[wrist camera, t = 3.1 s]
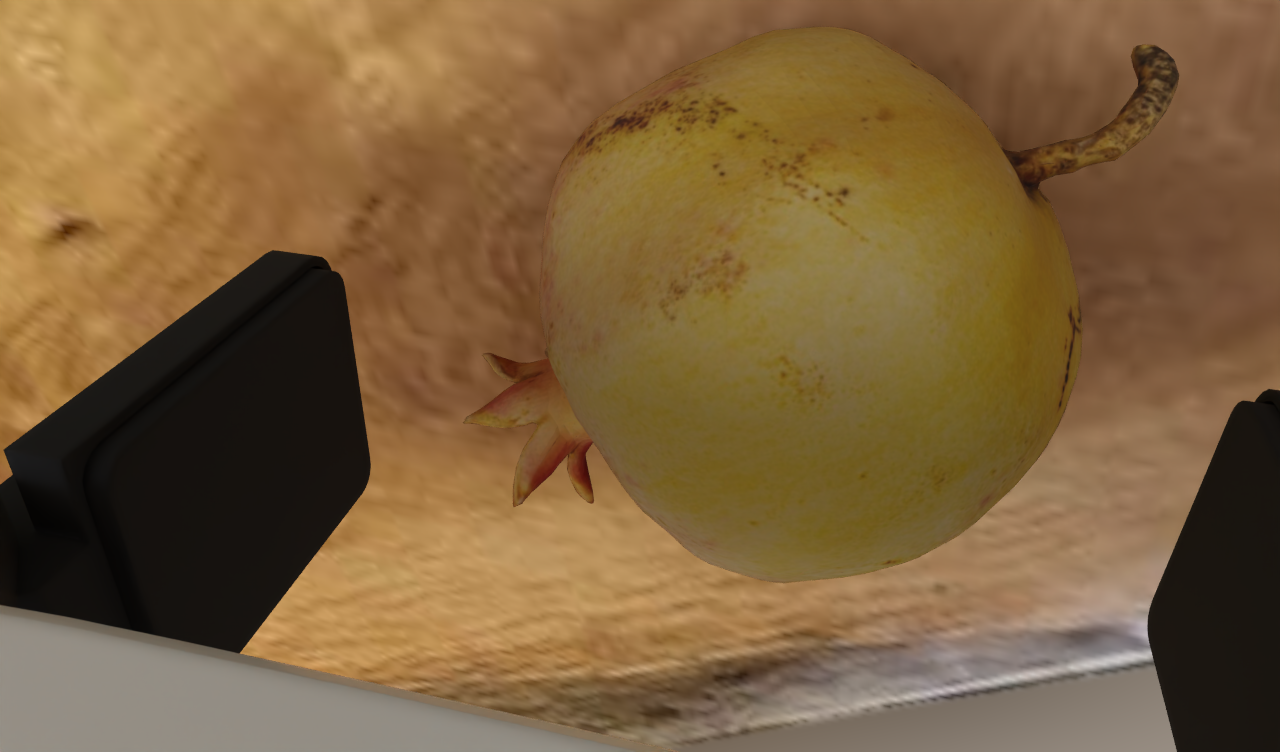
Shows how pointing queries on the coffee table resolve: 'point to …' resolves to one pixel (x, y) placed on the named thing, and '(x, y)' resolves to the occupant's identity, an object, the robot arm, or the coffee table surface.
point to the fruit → (806, 305)
